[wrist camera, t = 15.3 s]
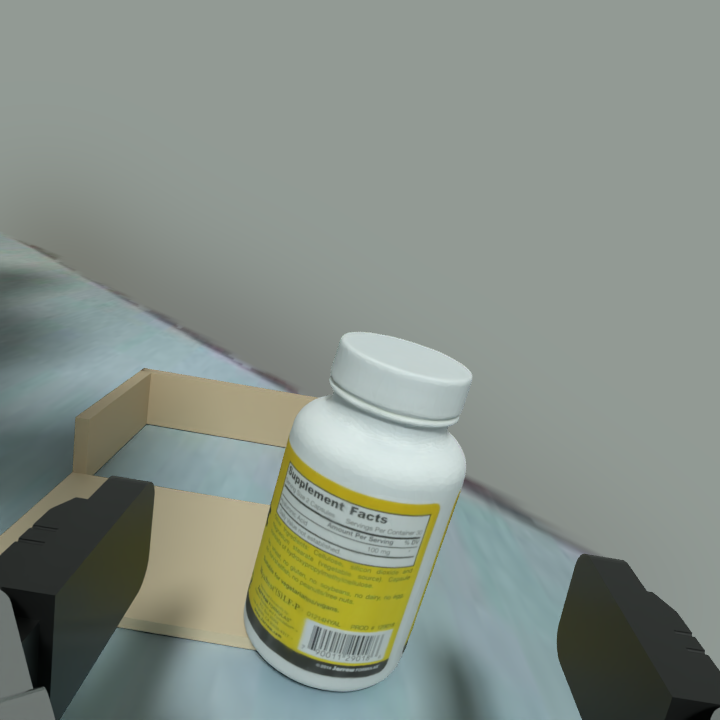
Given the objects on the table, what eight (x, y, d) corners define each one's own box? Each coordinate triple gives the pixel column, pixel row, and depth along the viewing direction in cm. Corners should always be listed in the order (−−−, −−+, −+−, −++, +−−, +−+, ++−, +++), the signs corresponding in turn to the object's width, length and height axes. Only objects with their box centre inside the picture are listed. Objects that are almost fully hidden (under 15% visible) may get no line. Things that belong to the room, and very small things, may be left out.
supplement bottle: (316, 563, 24) (391, 323, 22) (429, 652, 21) (531, 386, 19) (203, 611, 20) (280, 320, 18) (325, 731, 17) (437, 400, 15)
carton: (295, 657, 20) (309, 574, 19) (-58, 597, 20) (-58, 512, 19) (334, 451, 36) (342, 402, 35) (140, 418, 36) (144, 367, 35)
